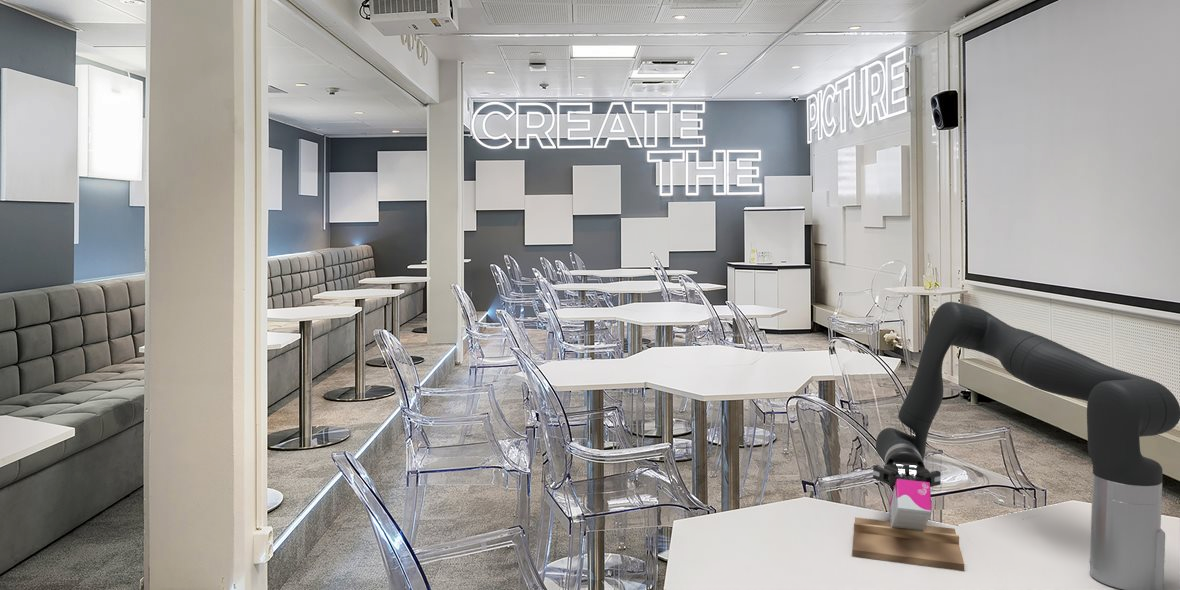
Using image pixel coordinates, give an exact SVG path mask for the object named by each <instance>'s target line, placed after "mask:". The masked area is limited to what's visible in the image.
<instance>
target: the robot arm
mask: <svg viewBox="0 0 1180 590" xmlns="http://www.w3.org/2000/svg"><path fill="white" fill-rule="evenodd" d="M951 346H954V347H958V348H962V349H967V350H971V351H975V352H976V351H977V352H980V353H983V354H985V355H988V356H990V357H993V358H995V359H996V360H998V361H999V362H1000V364H1001V366H1002V367H1003V368H1004V370H1005V371H1006V372H1007V373H1008V374H1010V375H1011V376H1013V377H1015V378H1016V379H1018V380H1020V381H1022V382H1024V383H1026V384H1027V385H1029V386H1031V387H1032V388H1033V387H1034V388H1035V389H1038V390H1040V391H1044V392H1047V393H1051V394H1055V395H1059V396H1063V397H1068V398H1071V399H1076V400H1079V401H1080V400H1082V401H1084V402H1085V401H1086V402H1087V403H1086V430H1087V431H1086V432H1087V452H1088V455H1089V458H1090V460H1091V464H1092V483H1091V484H1092V487H1091V492H1092V493H1091V516H1090V517H1091V520H1090V522H1091V523H1090V545H1089V546H1090V548H1089V549H1090V550H1089V551H1090V553H1089V575H1090V576H1091V577H1092V578H1093V579H1094V580H1096V581H1098V582H1099V583H1102V584H1104V585H1107V586H1109V587H1113V588H1116V589H1120V590H1164V585H1165V584H1164V582H1165V581H1164V580H1165V579H1164V578H1165V561H1166V560H1165V557H1166V556H1165V555H1166V554H1165V553H1166V533H1165V531H1164V530H1163V529H1162V528H1161V526H1162V524H1161V523H1162V504H1163V503H1162V499H1163V496H1162V495H1163V475H1164V474H1163V472H1164V471H1163V467H1162V465H1161V464H1160V463H1159V462H1158V461H1156V460H1154V459H1151V458H1150V457H1146V456H1144V455H1142V452H1141V445H1140V443H1141V440H1140V438H1141V437H1152V436H1156V435H1157V436H1158V435H1162V434H1165V433H1168V432H1170V431H1171V430H1172V429H1174V428H1175V427H1176V426H1177V425H1178V424H1179V422H1180V403H1179V401H1178V400H1177V398H1176V396H1175V395H1174V393H1172V391H1171V390H1169V388H1167V387H1166V386H1165V385H1163V384H1162V383H1160V382H1159V381H1156V380H1153V379H1152V378H1147V377H1144V376H1140V375H1137V374H1133V373H1131V372H1127V371H1124V370H1120V369H1117V368H1115V367H1112V366H1109V365H1106V364H1104V363H1101V362H1100V361H1098V360H1096V359H1093V358H1091V357H1089V356H1087V355H1085V354H1083V353H1080V352H1078V351H1075V350H1073V349H1071V348H1069V347H1066V346H1064V345H1063V344H1061V343H1058V342H1056V341H1054V340H1052V339H1049V338H1047V337H1044V336H1042V335H1039V334H1037V333H1034V332H1031V331H1027V330H1024V329H1020V328H1017V327H1014V326H1011V325H1010V324H1007V323H1006V322H1004V321H1002V320H1001V319H999V318H997V317H996V316H994V315H993V314H992V313H990V312H988V311H986V310H984V309H982V308H980V307H976V306H972V305H969V304H964V303H960V302H956V301H955V302H954V301H947V302H943V303H942V304H941V305H940V306H938V307H937V308H936V311H935V312H934V314H933V316H932V318H931V321H930V323H929V326H928V330H927V332H926V337H925V340H924V342H923V347H922V351H921V354H920V358H919V362H918V366H917V368H916V373H915V376H914V379H913V381H912V384H911V386H910V388H909V391H908V392H907V394H906V396H905V399H904V401H903V403H902V405H901V407H900V409H899V411H898V413H897V414H898V415H897V417H898V420H899V422H901V424H903V425H904V426H906V427H908V429H910V430H911V432H912V431H913V433H914V436H913V435H911V434H909V433H906V432H903V431H901V430H899V429H897V428H894V427H887V428H884V429H882V430H881V431H880V432H879V433H878V435H877V437H876V438H875V439H876V440H875V451H876V453H877V455H878V457H880V458H881V459H882V460H883V461H884V466H883V467H882V466H879V465H876V464H875V465H873V466H872V479H874V480H876V481H879V482H881V483H884V484H886V485H889V486H891V487H895V484H896V480H897V479H903V480H911V481H921V482H930V488H933V487H937V486H940V485H941V480H942V475H941V473H942V472H941V471H939V470H933V471H929V469H928V468H926V466H925V464H924V459H925V455H926V448H927V440H928V435H929V431H930V427H931V425H932V423H933V421H934V419H935V417H936V415H937V414H938V411H939V408H940V406H941V405H942V402H943V398H944V380H943V365H944V364H943V363H944V359H945V357H946V354H947V352H948V351H949V349H950V348H951Z"/></svg>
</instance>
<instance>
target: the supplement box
mask: <svg viewBox="0 0 1180 590" xmlns="http://www.w3.org/2000/svg"><path fill="white" fill-rule="evenodd" d="M893 487H894V488H893V490H892V494H891V497H890V501H889V521H890V527H896V528H904V529H913V530H922V531H924V528H925V526H926V525H927V524H928V522H929V521H928V520H929V518H930V516H931V513H932V497H931V496H932V495H931V487H930V482H921V481H911V480H903V479H897V480H896V484H895V486H893Z"/></svg>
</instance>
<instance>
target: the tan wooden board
mask: <svg viewBox="0 0 1180 590" xmlns="http://www.w3.org/2000/svg"><path fill="white" fill-rule="evenodd" d="M852 539H853V540H852V551H851V553H852V554H851V557H856V558H862V559H871V560H878V561H879V560H880V561H884V562H885V561H886V562H894V563H899V564H900V563H902V564H907V565H917V566H924V567H930V568H939V569H947V570H954V571H962V572H965V561H964V558H963V553H962V551H961V546H960V534H957V533H956V528H952V527H942V526H934V525H927V524H926V526H925V528H924V531H922V530H913V529H904V528H896V527H890V520H882V519H874V518H864V517H854V523H853V538H852Z"/></svg>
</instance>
